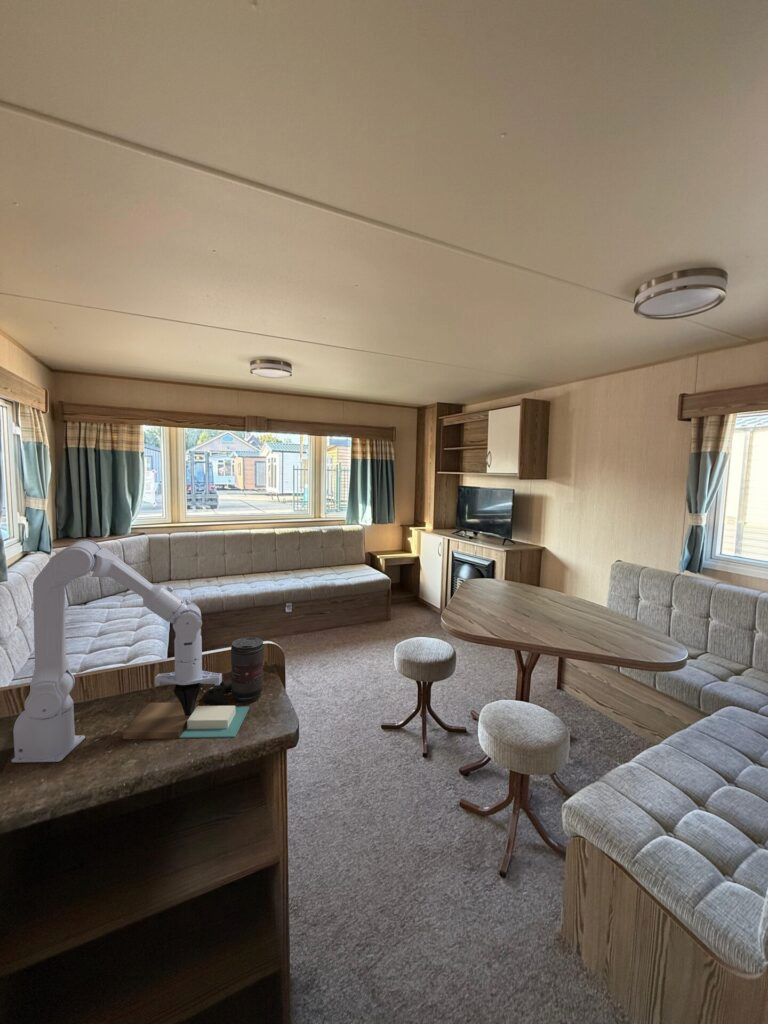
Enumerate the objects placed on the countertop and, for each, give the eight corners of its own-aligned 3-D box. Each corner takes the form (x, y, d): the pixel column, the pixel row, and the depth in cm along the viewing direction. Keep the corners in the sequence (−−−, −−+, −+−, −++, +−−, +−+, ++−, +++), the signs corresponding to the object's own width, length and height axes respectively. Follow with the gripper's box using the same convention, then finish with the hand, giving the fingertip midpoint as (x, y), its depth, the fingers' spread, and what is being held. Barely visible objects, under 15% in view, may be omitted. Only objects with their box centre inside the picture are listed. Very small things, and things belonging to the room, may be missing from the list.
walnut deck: (122, 738, 92) (122, 732, 92) (150, 708, 104) (149, 702, 104) (178, 738, 92) (178, 731, 92) (199, 708, 104) (199, 702, 104)
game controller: (228, 705, 105) (210, 688, 105) (213, 719, 105) (195, 702, 105) (241, 685, 114) (225, 670, 114) (227, 698, 115) (212, 683, 114)
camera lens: (263, 703, 107) (263, 647, 106) (229, 707, 105) (229, 649, 104) (264, 688, 115) (264, 635, 113) (233, 691, 113) (232, 637, 111)
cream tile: (187, 728, 95) (187, 720, 95) (197, 713, 101) (197, 705, 101) (227, 728, 96) (227, 720, 96) (235, 713, 102) (235, 705, 102)
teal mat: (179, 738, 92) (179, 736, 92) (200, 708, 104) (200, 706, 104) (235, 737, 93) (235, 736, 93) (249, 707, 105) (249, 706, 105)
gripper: (225, 649, 101) (226, 703, 103) (164, 650, 101) (165, 704, 102) (215, 662, 94) (216, 720, 96) (149, 663, 94) (151, 721, 95)
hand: (189, 713), depth 98 cm, fingers closed
